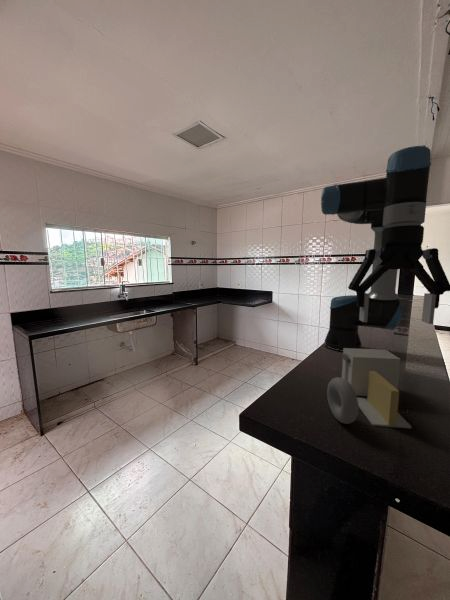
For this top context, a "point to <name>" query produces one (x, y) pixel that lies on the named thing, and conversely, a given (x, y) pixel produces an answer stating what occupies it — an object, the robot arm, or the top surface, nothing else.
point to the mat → (375, 416)
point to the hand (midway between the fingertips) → (394, 322)
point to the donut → (342, 400)
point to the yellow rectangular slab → (383, 397)
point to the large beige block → (369, 367)
